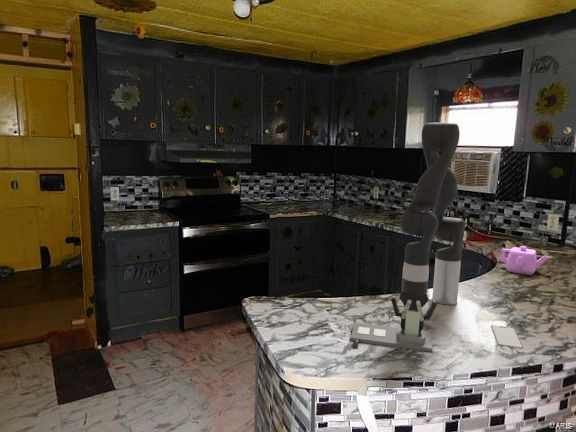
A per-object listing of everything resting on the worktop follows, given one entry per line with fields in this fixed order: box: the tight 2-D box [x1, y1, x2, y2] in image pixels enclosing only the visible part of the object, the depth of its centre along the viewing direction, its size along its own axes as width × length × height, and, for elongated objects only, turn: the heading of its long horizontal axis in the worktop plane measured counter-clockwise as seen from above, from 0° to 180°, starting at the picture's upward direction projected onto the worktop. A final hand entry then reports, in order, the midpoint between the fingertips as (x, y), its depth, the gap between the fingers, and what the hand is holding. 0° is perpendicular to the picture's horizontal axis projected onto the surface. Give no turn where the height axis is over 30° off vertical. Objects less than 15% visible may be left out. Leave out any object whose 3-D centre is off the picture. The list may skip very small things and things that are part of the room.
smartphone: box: [490, 324, 524, 349], centre depth 135 cm, size 7×1×15 cm
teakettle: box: [499, 245, 549, 276], centre depth 210 cm, size 17×17×12 cm
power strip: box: [350, 322, 433, 353], centre depth 130 cm, size 16×24×3 cm, turn 76°
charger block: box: [404, 309, 420, 337], centre depth 130 cm, size 4×4×8 cm
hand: (411, 329), depth 131 cm, fingers closed on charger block, 4 cm apart
